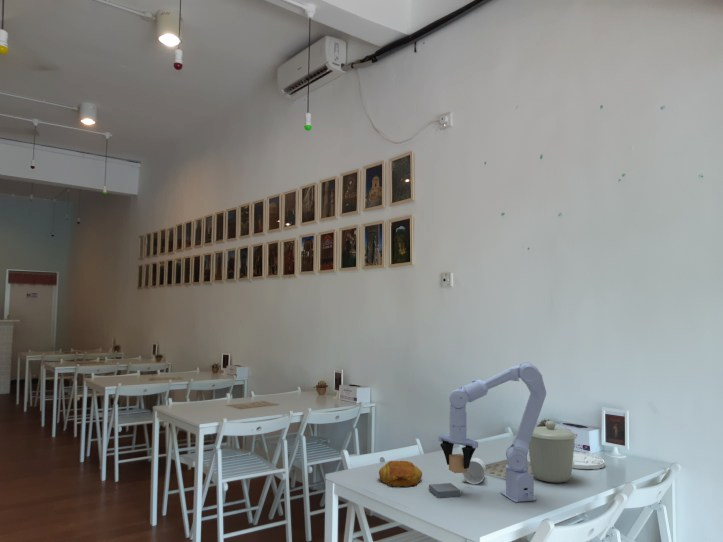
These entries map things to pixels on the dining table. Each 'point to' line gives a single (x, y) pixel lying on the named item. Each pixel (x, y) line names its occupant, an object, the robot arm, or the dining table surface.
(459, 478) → the dining table surface
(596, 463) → the embossed medallion
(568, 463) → the canister
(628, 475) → the dining table surface
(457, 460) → the tan rectangular block
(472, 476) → the white cup
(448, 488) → the slate coaster
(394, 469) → the croissant
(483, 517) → the dining table surface
